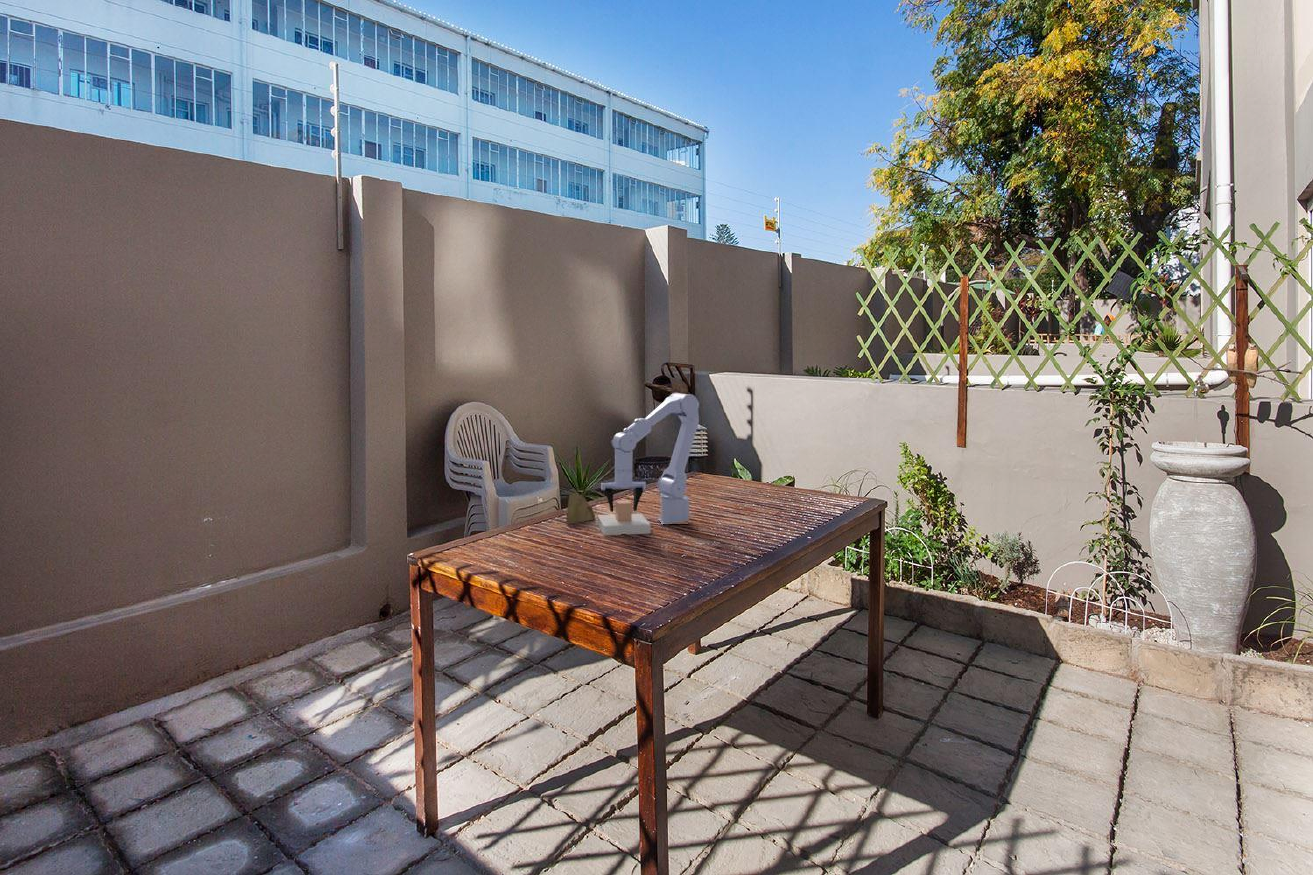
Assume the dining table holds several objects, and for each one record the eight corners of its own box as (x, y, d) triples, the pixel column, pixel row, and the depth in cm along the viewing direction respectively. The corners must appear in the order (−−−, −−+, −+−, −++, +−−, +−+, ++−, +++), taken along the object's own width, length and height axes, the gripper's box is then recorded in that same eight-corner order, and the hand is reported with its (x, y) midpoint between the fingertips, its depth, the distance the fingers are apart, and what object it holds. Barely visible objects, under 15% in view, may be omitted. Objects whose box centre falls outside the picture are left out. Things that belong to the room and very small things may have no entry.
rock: (596, 510, 256) (568, 506, 255) (599, 494, 250) (570, 490, 249) (593, 534, 248) (564, 530, 247) (595, 518, 242) (565, 514, 241)
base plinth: (641, 522, 248) (641, 513, 248) (650, 533, 234) (650, 524, 234) (597, 523, 245) (597, 515, 245) (603, 535, 231) (603, 526, 230)
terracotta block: (628, 517, 242) (628, 500, 241) (631, 521, 237) (631, 502, 237) (615, 518, 241) (615, 500, 240) (617, 521, 236) (618, 503, 236)
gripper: (603, 472, 232) (603, 514, 233) (648, 471, 235) (647, 512, 236) (600, 468, 239) (600, 509, 240) (643, 467, 242) (643, 507, 243)
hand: (623, 510), depth 239 cm, fingers open, 7 cm apart
